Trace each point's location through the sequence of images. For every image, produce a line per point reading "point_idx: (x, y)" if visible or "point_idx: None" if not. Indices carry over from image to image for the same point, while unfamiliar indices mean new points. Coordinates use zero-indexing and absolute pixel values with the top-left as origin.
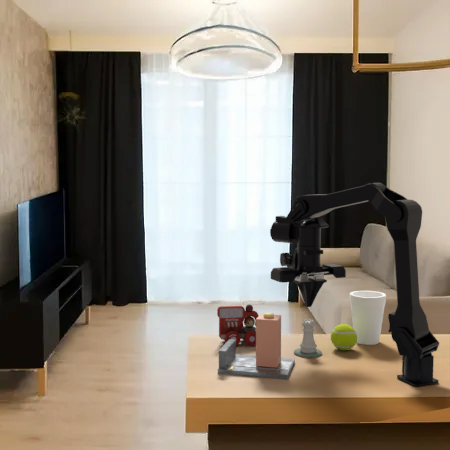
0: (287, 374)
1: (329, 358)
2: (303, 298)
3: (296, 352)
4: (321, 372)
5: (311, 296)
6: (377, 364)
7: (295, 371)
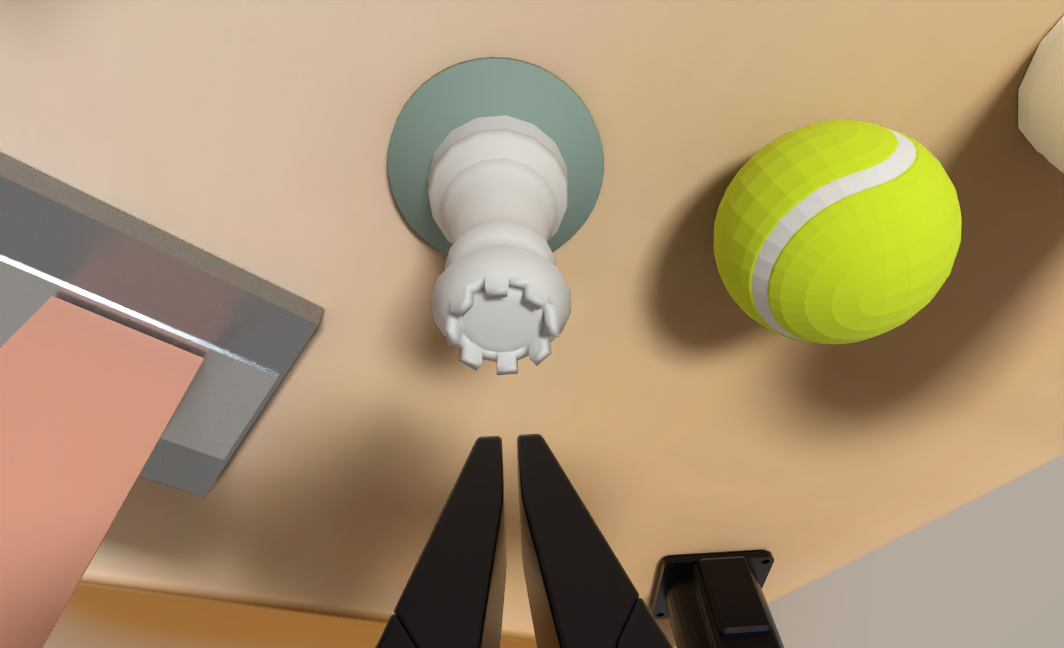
0: (208, 490)
1: (573, 304)
2: (434, 547)
3: (402, 160)
4: (411, 453)
5: (540, 642)
6: (730, 440)
7: (284, 414)
